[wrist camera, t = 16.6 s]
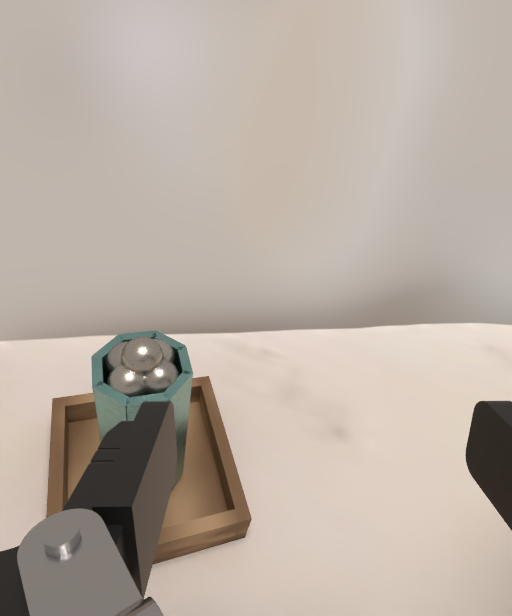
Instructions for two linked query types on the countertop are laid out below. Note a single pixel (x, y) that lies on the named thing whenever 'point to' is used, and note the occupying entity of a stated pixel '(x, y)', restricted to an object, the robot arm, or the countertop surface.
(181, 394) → the teal octagonal tall prism
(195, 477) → the walnut tray
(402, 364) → the countertop surface
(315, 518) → the countertop surface
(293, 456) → the countertop surface
